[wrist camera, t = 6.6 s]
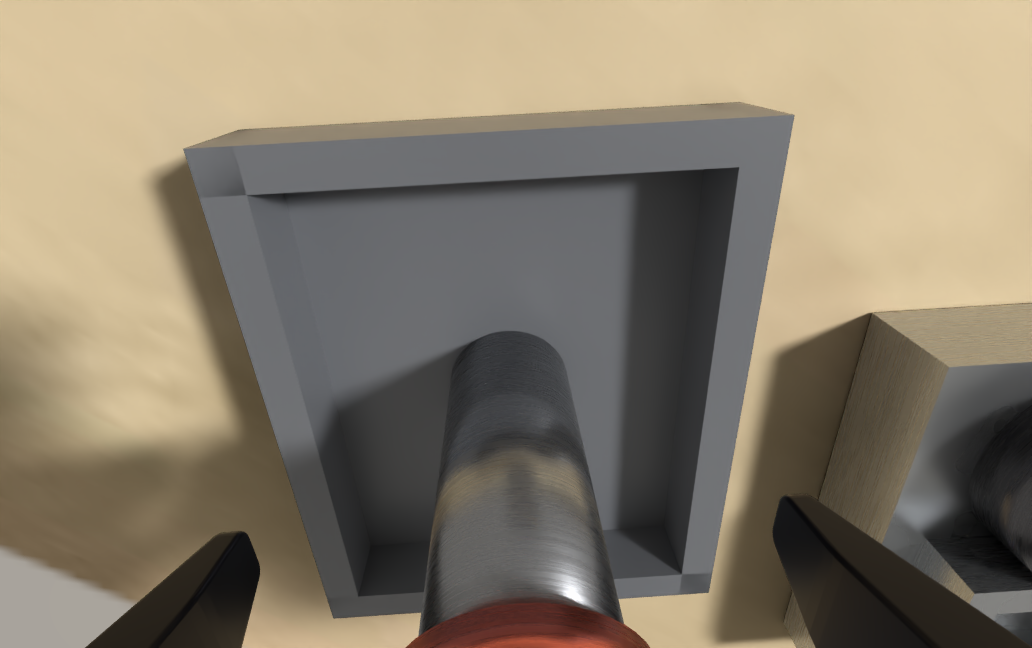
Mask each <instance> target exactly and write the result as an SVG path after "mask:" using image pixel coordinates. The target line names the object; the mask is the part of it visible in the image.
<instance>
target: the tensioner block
mask: <svg viewBox="0 0 1032 648" xmlns="http://www.w3.org/2000/svg"><path fill="white" fill-rule="evenodd" d="M818 501H819V502H821V503H822V504H824V505H825V506H827V507H828V508H830V509H831V510H832V511H834V512H835V513H837V514H838V515H840V516H841V517H843V518H844V519H846V520H847V521H849V522H850V523H852V524H853V525H854V526H856V527H857V528H859V529H860V530H862V531H863V532H865V533H866V534H868V535H869V536H871V537H872V538H874V539H875V540H876V541H878V542H879V543H881V544H882V545H884V546H885V547H887V548H888V549H890V550H891V551H893V552H894V553H896V554H897V555H898V556H900V557H901V558H903V559H904V560H906V561H907V562H909V563H910V564H912V565H913V566H915V567H916V568H918V569H919V570H920V571H922V572H923V573H925V574H926V575H928V576H929V577H931V578H932V579H934V580H935V581H937V582H938V583H940V584H941V585H942V586H944V587H945V588H947V589H948V590H950V591H951V592H953V593H954V594H956V595H957V596H959V597H960V598H962V599H963V600H964V601H966V602H967V603H969V604H970V605H972V606H973V607H975V608H976V609H978V610H979V611H981V612H982V613H984V614H985V615H986V616H988V617H989V618H991V619H992V620H994V621H995V622H997V623H998V624H1000V625H1001V626H1003V627H1004V628H1006V629H1007V630H1008V631H1010V632H1011V633H1013V634H1014V635H1016V636H1017V637H1019V638H1020V639H1022V640H1023V641H1025V642H1026V643H1028V644H1029V645H1030V646H1032V303H1026V304H1009V305H993V306H977V307H960V308H944V309H928V310H911V311H895V312H879V313H872V316H871V319H870V323H869V326H868V330H867V333H866V337H865V340H864V344H863V347H862V351H861V354H860V357H859V361H858V364H857V368H856V371H855V375H854V378H853V382H852V385H851V389H850V392H849V396H848V399H847V403H846V406H845V410H844V413H843V417H842V420H841V423H840V427H839V430H838V434H837V437H836V441H835V444H834V448H833V451H832V455H831V458H830V462H829V465H828V469H827V472H826V476H825V479H824V483H823V486H822V489H821V493H820V496H819V500H818ZM783 622H784V624H785V626H786V628H787V630H788V632H789V634H790V636H791V638H792V640H793V642H794V644H795V646H796V648H815V646H814V644H813V642H812V639H811V637H810V635H809V633H808V630H807V628H806V625H805V623H804V620H803V618H802V615H801V613H800V610H799V607H798V605H797V602H796V599H795V597H794V594H793V591H792V594H791V597H790V601H789V604H788V608H787V611H786V615H785V618H784V621H783Z"/></svg>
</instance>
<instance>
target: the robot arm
mask: <svg viewBox="0 0 1032 648" xmlns="http://www.w3.org/2000/svg"><path fill="white" fill-rule="evenodd" d="M773 539H774V543H775V546H776V549H777V551H778V554H779V557H780V559H781V562H782V565H783V567H784V570H785V573H786V575H787V578H788V581H789V583H790V586H791V589H792V591H793V594H794V597H795V599H796V602H797V605H798V607H799V610H800V613H801V615H802V618H803V620H804V623H805V625H806V628H807V630H808V633H809V635H810V637H811V639H812V642H813V644H814V646H815V648H1032V646H1030V645H1029V644H1028V643H1026V642H1025V641H1023V640H1022V639H1020V638H1019V637H1017V636H1016V635H1014V634H1013V633H1011V632H1010V631H1008V630H1007V629H1006V628H1004V627H1003V626H1001V625H1000V624H998V623H997V622H995V621H994V620H992V619H991V618H989V617H988V616H986V615H985V614H984V613H982V612H981V611H979V610H978V609H976V608H975V607H973V606H972V605H970V604H969V603H967V602H966V601H964V600H963V599H962V598H960V597H959V596H957V595H956V594H954V593H953V592H951V591H950V590H948V589H947V588H945V587H944V586H942V585H941V584H940V583H938V582H937V581H935V580H934V579H932V578H931V577H929V576H928V575H926V574H925V573H923V572H922V571H920V570H919V569H918V568H916V567H915V566H913V565H912V564H910V563H909V562H907V561H906V560H904V559H903V558H901V557H900V556H898V555H897V554H896V553H894V552H893V551H891V550H890V549H888V548H887V547H885V546H884V545H882V544H881V543H879V542H878V541H876V540H875V539H874V538H872V537H871V536H869V535H868V534H866V533H865V532H863V531H862V530H860V529H859V528H857V527H856V526H854V525H853V524H852V523H850V522H849V521H847V520H846V519H844V518H843V517H841V516H840V515H838V514H837V513H835V512H834V511H832V510H831V509H830V508H828V507H827V506H825V505H824V504H822V503H821V502H819V501H818V500H816V499H815V498H813V497H812V496H810V495H808V494H791V495H784V496H782V497H781V499H780V501H779V505H778V509H777V513H776V517H775V521H774V526H773ZM259 576H260V566H259V562H258V559H257V557H256V554H255V552H254V549H253V546H252V544H251V541H250V539H249V537H248V535H247V534H246V533H245V532H243V531H236V532H223V533H219V534H217V535H216V536H214V537H213V538H212V539H211V540H210V541H209V542H207V543H206V544H205V545H204V546H203V547H202V548H200V549H199V550H198V551H197V552H196V553H195V554H193V555H192V556H191V557H190V558H189V559H188V560H186V561H185V562H184V563H183V564H182V565H181V566H179V567H178V568H177V569H176V570H175V571H174V572H173V573H171V574H170V575H169V576H168V577H167V578H166V579H164V580H163V581H162V582H161V583H160V584H159V585H157V586H156V587H155V588H154V589H153V590H152V591H150V592H149V593H148V594H147V595H146V596H145V597H143V598H142V599H141V600H140V601H139V602H138V603H137V604H135V605H134V606H133V607H132V608H131V609H130V610H128V611H127V612H126V613H125V614H124V615H123V616H121V617H120V618H119V619H118V620H117V621H116V622H114V623H113V624H112V625H111V626H110V627H109V628H107V629H106V630H105V631H104V632H103V633H102V634H101V635H99V636H98V637H97V638H96V639H95V640H94V641H92V642H91V643H90V644H89V645H88V646H87V647H85V648H242V644H243V640H244V636H245V632H246V628H247V624H248V620H249V617H250V613H251V609H252V605H253V601H254V597H255V593H256V589H257V585H258V581H259Z"/></svg>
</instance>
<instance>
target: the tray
mask: <svg viewBox="0 0 1032 648" xmlns="http://www.w3.org/2000/svg"><path fill="white" fill-rule="evenodd" d="M793 120H794V115H793V114H788V113H784V112H780V111H776V110H771V109H767V108H763V107H758V106H754V105H750V104H745V103H741V102H734V103H716V104H698V105H680V106H661V107H643V108H625V109H607V110H589V111H571V112H552V113H534V114H516V115H498V116H480V117H462V118H443V119H425V120H407V121H389V122H371V123H353V124H335V125H316V126H298V127H280V128H262V129H244V130H237V131H234V132H231V133H228V134H225V135H222V136H219V137H217V138H214V139H211V140H208V141H205V142H202V143H199V144H196V145H193V146H190V147H187V148H184V149H183V150H184V153H185V156H186V159H187V162H188V165H189V168H190V171H191V175H192V178H193V181H194V184H195V187H196V190H197V193H198V196H199V200H200V203H201V206H202V209H203V212H204V215H205V218H206V221H207V225H208V228H209V231H210V234H211V237H212V240H213V243H214V246H215V250H216V253H217V256H218V259H219V262H220V265H221V268H222V271H223V275H224V278H225V281H226V284H227V287H228V290H229V293H230V296H231V300H232V303H233V306H234V309H235V312H236V315H237V318H238V321H239V325H240V328H241V331H242V334H243V337H244V340H245V343H246V346H247V350H248V353H249V356H250V359H251V362H252V365H253V368H254V371H255V375H256V378H257V381H258V384H259V387H260V390H261V393H262V396H263V400H264V403H265V406H266V409H267V412H268V415H269V418H270V421H271V425H272V428H273V431H274V434H275V437H276V440H277V443H278V446H279V450H280V453H281V456H282V459H283V462H284V465H285V468H286V471H287V474H288V478H289V481H290V484H291V487H292V490H293V493H294V496H295V499H296V503H297V506H298V509H299V512H300V515H301V518H302V521H303V524H304V528H305V531H306V534H307V537H308V540H309V543H310V546H311V549H312V553H313V556H314V559H315V562H316V565H317V568H318V571H319V574H320V578H321V581H322V584H323V587H324V590H325V593H326V596H327V599H328V603H329V606H330V609H331V612H332V615H333V618H348V617H363V616H377V615H392V614H406V613H421V612H422V604H423V596H424V588H425V580H426V572H427V564H428V556H429V548H430V540H431V533H432V525H433V517H434V509H435V501H436V493H437V485H438V477H439V469H440V461H441V453H442V445H443V437H444V429H445V421H446V413H447V405H448V397H449V389H450V381H451V373H452V369H453V366H454V364H455V362H456V360H457V358H458V356H459V355H460V354H461V352H462V351H463V350H464V349H465V348H466V347H467V346H468V345H469V344H471V343H472V342H474V341H475V340H477V339H479V338H481V337H483V336H485V335H488V334H491V333H495V332H501V331H520V332H525V333H529V334H532V335H535V336H537V337H539V338H541V339H543V340H545V341H546V342H548V343H549V344H550V345H551V346H552V347H554V348H555V349H556V351H557V352H558V353H559V354H560V356H561V358H562V359H563V362H564V364H565V367H566V371H567V375H568V380H569V384H570V389H571V393H572V397H573V402H574V406H575V411H576V415H577V419H578V424H579V428H580V433H581V437H582V441H583V446H584V450H585V455H586V459H587V463H588V468H589V472H590V477H591V481H592V485H593V490H594V494H595V499H596V503H597V507H598V512H599V516H600V521H601V525H602V529H603V534H604V538H605V543H606V547H607V552H608V556H609V560H610V565H611V569H612V574H613V578H614V582H615V587H616V591H617V596H618V599H624V598H638V597H653V596H667V595H682V594H696V593H709V588H710V583H711V577H712V571H713V566H714V560H715V555H716V549H717V544H718V538H719V532H720V527H721V521H722V516H723V510H724V505H725V499H726V493H727V488H728V482H729V477H730V471H731V466H732V460H733V454H734V449H735V443H736V438H737V432H738V427H739V421H740V416H741V410H742V404H743V399H744V393H745V388H746V382H747V377H748V371H749V365H750V360H751V354H752V349H753V343H754V338H755V332H756V326H757V321H758V315H759V310H760V304H761V299H762V293H763V287H764V282H765V276H766V271H767V265H768V260H769V254H770V248H771V243H772V237H773V232H774V226H775V221H776V215H777V209H778V204H779V198H780V193H781V187H782V182H783V176H784V170H785V165H786V159H787V154H788V148H789V143H790V137H791V131H792V126H793Z"/></svg>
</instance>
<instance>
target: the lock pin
mask: <svg viewBox="0 0 1032 648" xmlns="http://www.w3.org/2000/svg"><path fill="white" fill-rule="evenodd" d="M406 648H650V647H649V645H648V644H647V643H646V641H645V640H644V639H642V638H641V637H640V636H639V635H638V634H637V633H636V632H635V631H633V630H632V629H630V628H629V627H627V626H626V625H625V624H624V622H623V618H622V613H621V609H620V604H619V600H618V596H617V591H616V587H615V582H614V578H613V574H612V569H611V565H610V560H609V556H608V552H607V547H606V543H605V538H604V534H603V529H602V525H601V521H600V516H599V512H598V507H597V503H596V499H595V494H594V490H593V485H592V481H591V477H590V472H589V468H588V463H587V459H586V455H585V450H584V446H583V441H582V437H581V433H580V428H579V424H578V419H577V415H576V411H575V406H574V402H573V397H572V393H571V389H570V384H569V380H568V375H567V371H566V367H565V364H564V362H563V359H562V358H561V356H560V354H559V353H558V352H557V351H556V349H555V348H554V347H552V346H551V345H550V344H549V343H548V342H546V341H545V340H543V339H541V338H539V337H537V336H535V335H532V334H529V333H525V332H520V331H501V332H495V333H491V334H488V335H485V336H483V337H481V338H479V339H477V340H475V341H474V342H472V343H471V344H469V345H468V346H467V347H466V348H465V349H464V350H463V351H462V352H461V354H460V355H459V356H458V358H457V360H456V362H455V364H454V366H453V369H452V373H451V381H450V389H449V397H448V405H447V413H446V421H445V429H444V437H443V445H442V453H441V461H440V469H439V477H438V485H437V493H436V501H435V509H434V517H433V525H432V533H431V540H430V548H429V556H428V564H427V572H426V580H425V588H424V596H423V604H422V612H421V620H420V628H419V636H418V637H417V638H416V639H415V640H413V641H412V642H411V643H410V644H409V645H408V646H407V647H406Z"/></svg>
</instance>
